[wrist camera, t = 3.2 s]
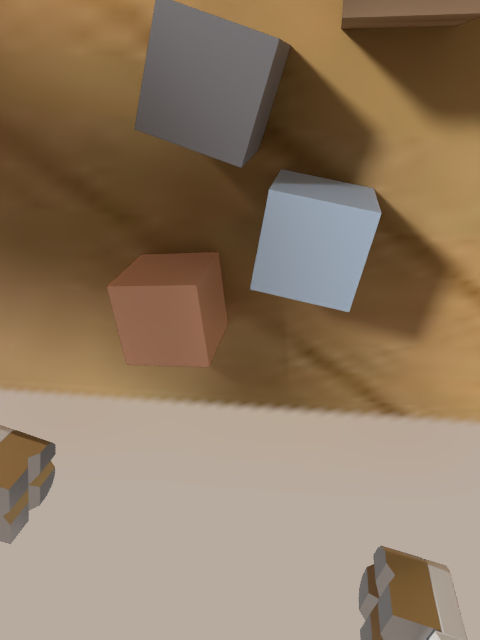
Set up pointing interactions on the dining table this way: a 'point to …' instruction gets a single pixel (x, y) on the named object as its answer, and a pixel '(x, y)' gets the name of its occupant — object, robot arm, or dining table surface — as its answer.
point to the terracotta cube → (170, 309)
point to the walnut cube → (407, 13)
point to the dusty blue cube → (315, 239)
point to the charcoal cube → (208, 82)
